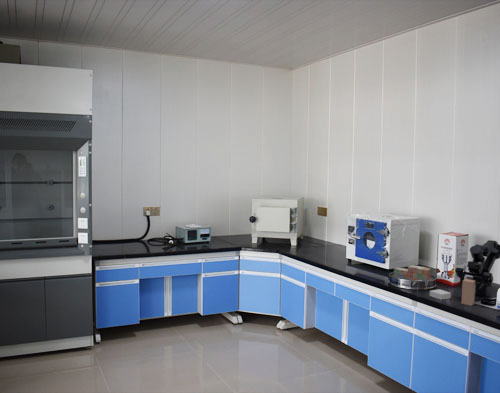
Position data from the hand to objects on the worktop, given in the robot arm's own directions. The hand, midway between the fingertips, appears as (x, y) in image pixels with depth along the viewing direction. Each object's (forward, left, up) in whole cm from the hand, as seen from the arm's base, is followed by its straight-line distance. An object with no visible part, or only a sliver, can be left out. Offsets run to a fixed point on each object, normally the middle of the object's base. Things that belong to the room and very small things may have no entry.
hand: (469, 287), depth 247 cm
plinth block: (+5, -14, -9) cm, 18 cm away
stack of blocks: (+2, -40, -9) cm, 41 cm away
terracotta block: (+1, +1, -9) cm, 9 cm away
